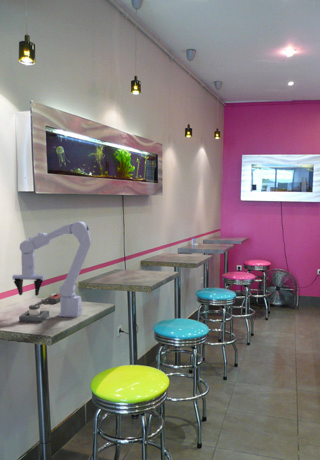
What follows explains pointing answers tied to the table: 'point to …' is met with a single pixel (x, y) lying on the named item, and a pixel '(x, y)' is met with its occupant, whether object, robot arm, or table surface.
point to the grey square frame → (34, 317)
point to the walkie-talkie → (50, 299)
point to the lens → (34, 310)
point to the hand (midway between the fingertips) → (28, 294)
